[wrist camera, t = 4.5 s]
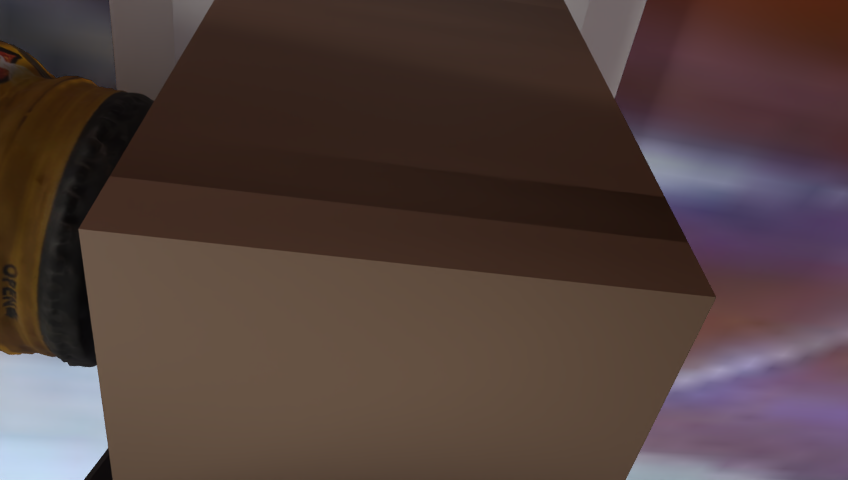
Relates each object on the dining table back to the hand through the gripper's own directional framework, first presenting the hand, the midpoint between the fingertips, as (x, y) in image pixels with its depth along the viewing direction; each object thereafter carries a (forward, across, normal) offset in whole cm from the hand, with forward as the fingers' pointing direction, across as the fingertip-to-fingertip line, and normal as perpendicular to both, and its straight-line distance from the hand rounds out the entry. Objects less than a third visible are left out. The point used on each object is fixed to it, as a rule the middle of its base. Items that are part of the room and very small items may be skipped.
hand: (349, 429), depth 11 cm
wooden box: (+2, 0, 0) cm, 2 cm away
